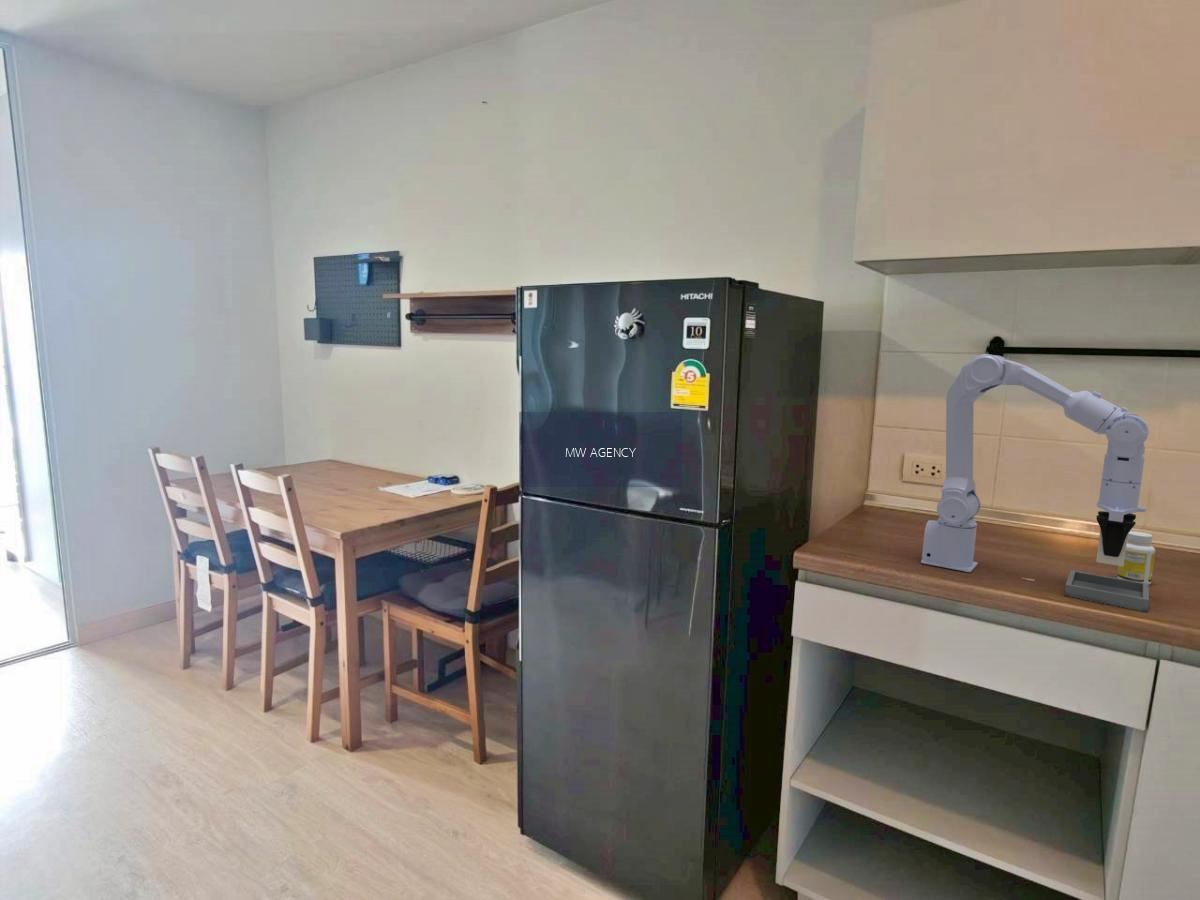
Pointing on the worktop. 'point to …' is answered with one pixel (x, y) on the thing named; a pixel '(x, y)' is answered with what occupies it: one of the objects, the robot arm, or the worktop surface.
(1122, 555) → the light grey tall block
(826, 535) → the worktop surface
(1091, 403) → the robot arm
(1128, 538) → the supplement bottle
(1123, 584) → the tray
